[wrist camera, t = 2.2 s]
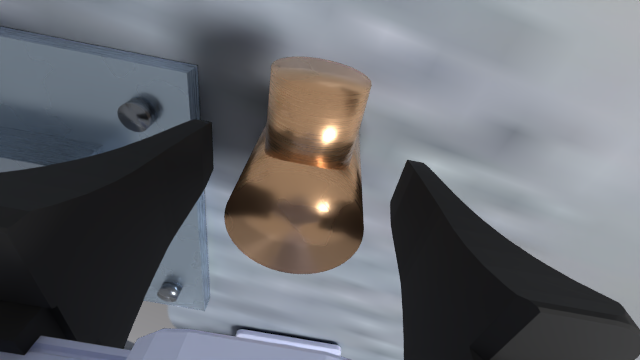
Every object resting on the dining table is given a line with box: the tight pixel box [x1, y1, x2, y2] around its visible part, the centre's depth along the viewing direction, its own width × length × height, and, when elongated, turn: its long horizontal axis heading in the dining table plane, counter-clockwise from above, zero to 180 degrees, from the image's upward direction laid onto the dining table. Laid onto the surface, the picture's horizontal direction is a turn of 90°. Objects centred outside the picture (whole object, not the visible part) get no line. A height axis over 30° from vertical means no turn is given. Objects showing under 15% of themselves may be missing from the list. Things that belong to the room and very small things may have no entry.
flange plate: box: [0, 26, 210, 311], centre depth 16 cm, size 16×16×3 cm
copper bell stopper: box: [224, 57, 371, 274], centre depth 11 cm, size 6×4×6 cm, turn 170°
